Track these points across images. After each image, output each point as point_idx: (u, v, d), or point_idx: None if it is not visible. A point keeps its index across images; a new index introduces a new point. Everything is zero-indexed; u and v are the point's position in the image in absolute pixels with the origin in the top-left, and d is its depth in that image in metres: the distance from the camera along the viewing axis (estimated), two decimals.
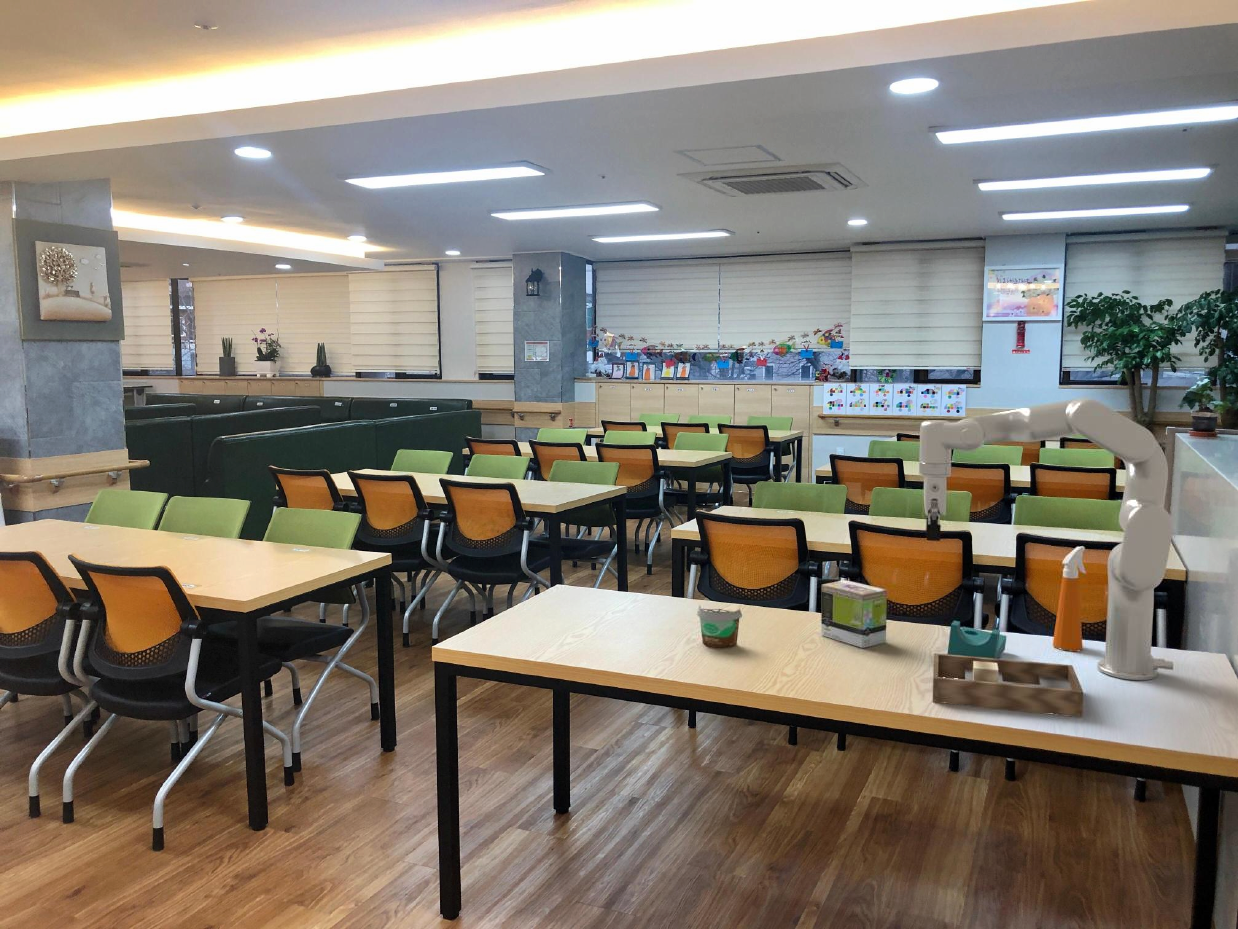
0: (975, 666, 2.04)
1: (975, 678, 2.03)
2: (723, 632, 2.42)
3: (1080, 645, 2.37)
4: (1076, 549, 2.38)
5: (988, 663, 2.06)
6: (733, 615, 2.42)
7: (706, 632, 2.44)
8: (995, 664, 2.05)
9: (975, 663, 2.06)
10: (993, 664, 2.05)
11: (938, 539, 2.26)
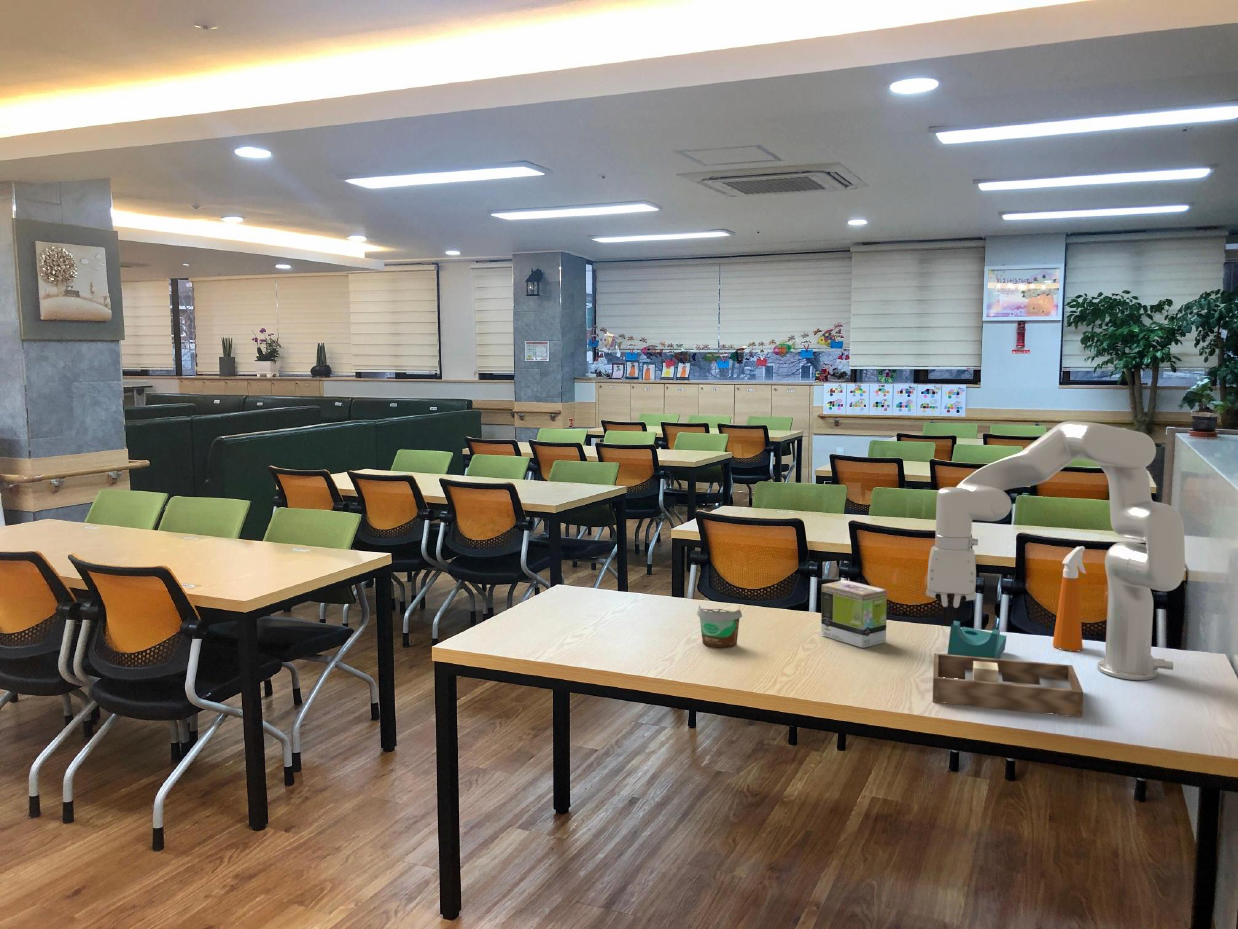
0: (975, 666, 2.04)
1: (975, 678, 2.03)
2: (723, 632, 2.42)
3: (1080, 645, 2.37)
4: (1076, 549, 2.38)
5: (988, 663, 2.06)
6: (733, 615, 2.42)
7: (706, 632, 2.44)
8: (995, 664, 2.05)
9: (975, 663, 2.06)
10: (993, 664, 2.05)
11: None
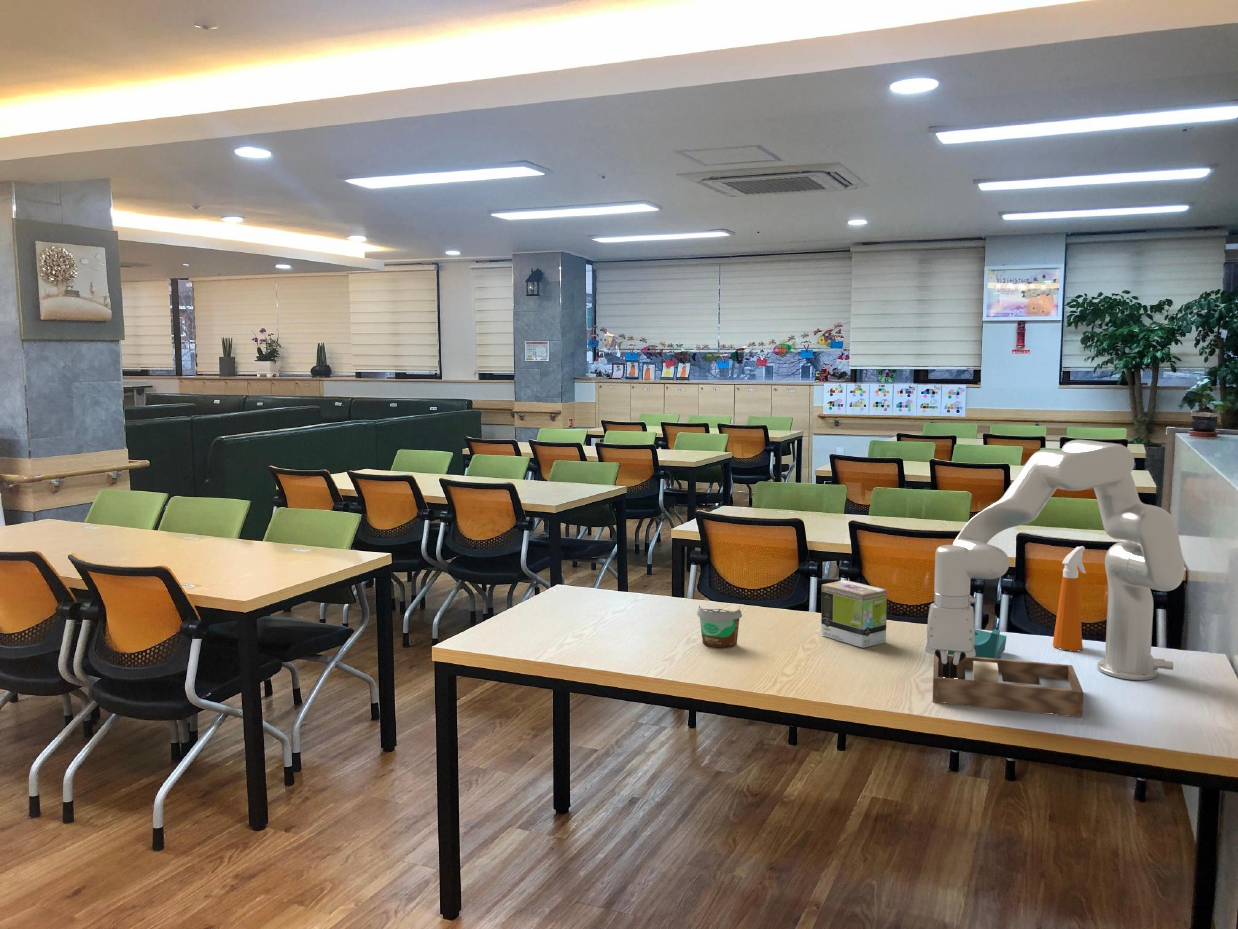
0: (975, 666, 2.04)
1: (975, 678, 2.03)
2: (723, 632, 2.42)
3: (1080, 645, 2.37)
4: (1076, 549, 2.38)
5: (988, 663, 2.06)
6: (733, 615, 2.42)
7: (706, 632, 2.44)
8: (995, 664, 2.05)
9: (975, 663, 2.06)
10: (993, 664, 2.05)
11: None
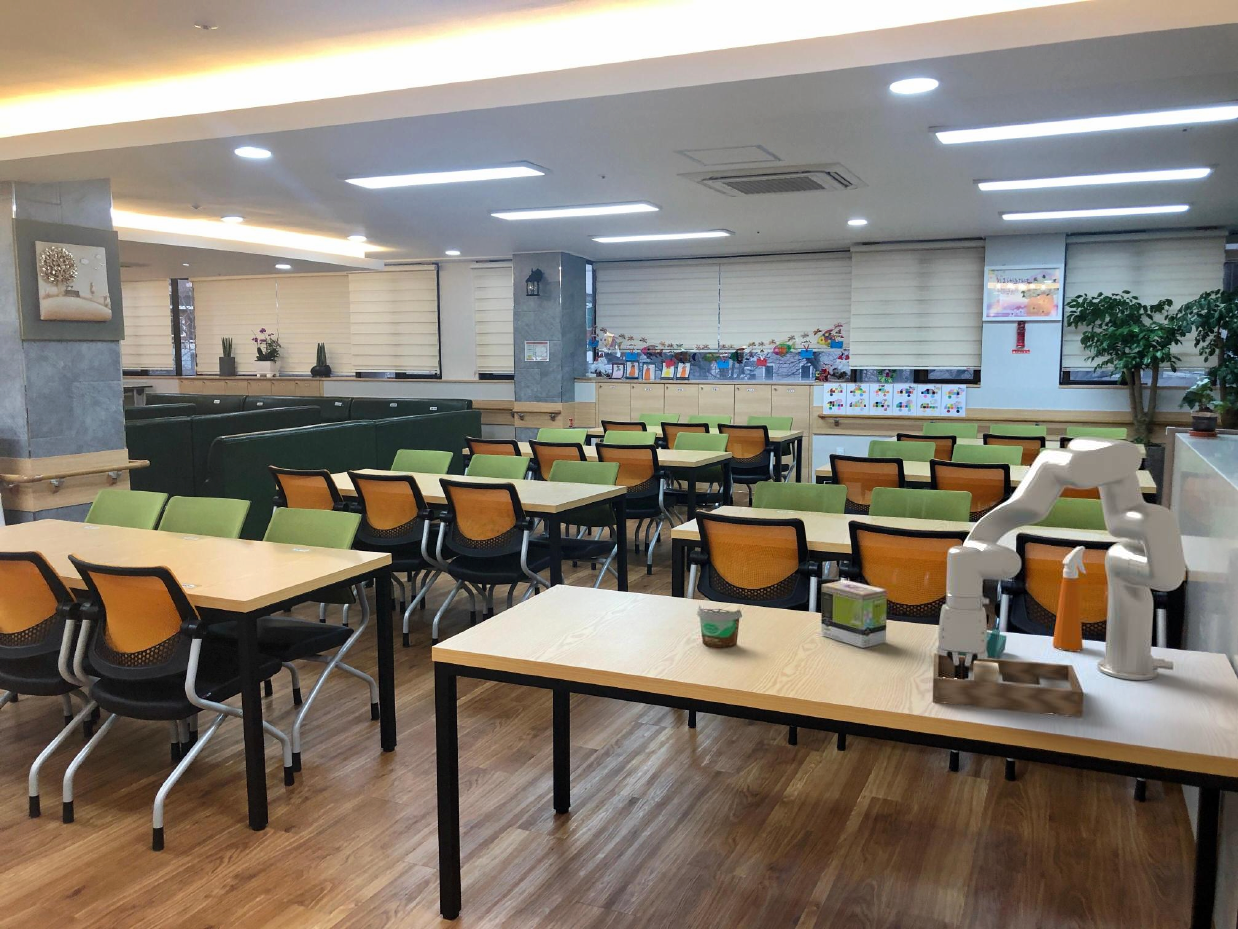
0: (976, 666, 2.04)
1: (976, 678, 2.03)
2: (723, 632, 2.42)
3: (1080, 645, 2.37)
4: (1076, 549, 2.38)
5: (989, 663, 2.06)
6: (733, 615, 2.42)
7: (706, 632, 2.44)
8: (996, 664, 2.05)
9: (976, 663, 2.06)
10: (994, 664, 2.05)
11: None
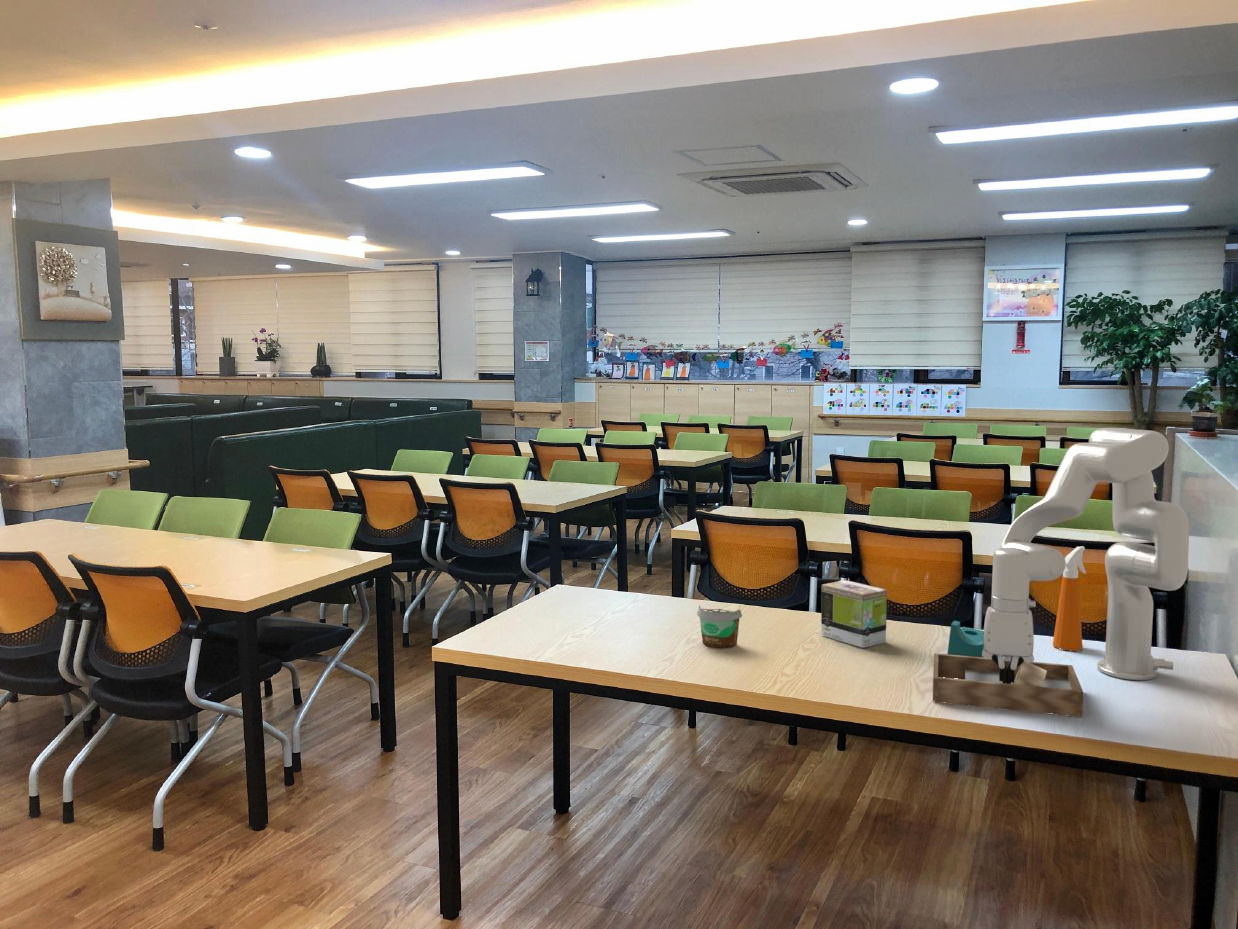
0: (1023, 666, 2.00)
1: (1019, 677, 2.00)
2: (723, 632, 2.42)
3: (1080, 645, 2.37)
4: (1076, 549, 2.38)
5: (1037, 668, 2.01)
6: (733, 615, 2.42)
7: (706, 632, 2.44)
8: (1044, 671, 2.01)
9: (1024, 663, 2.02)
10: (1042, 670, 2.01)
11: None
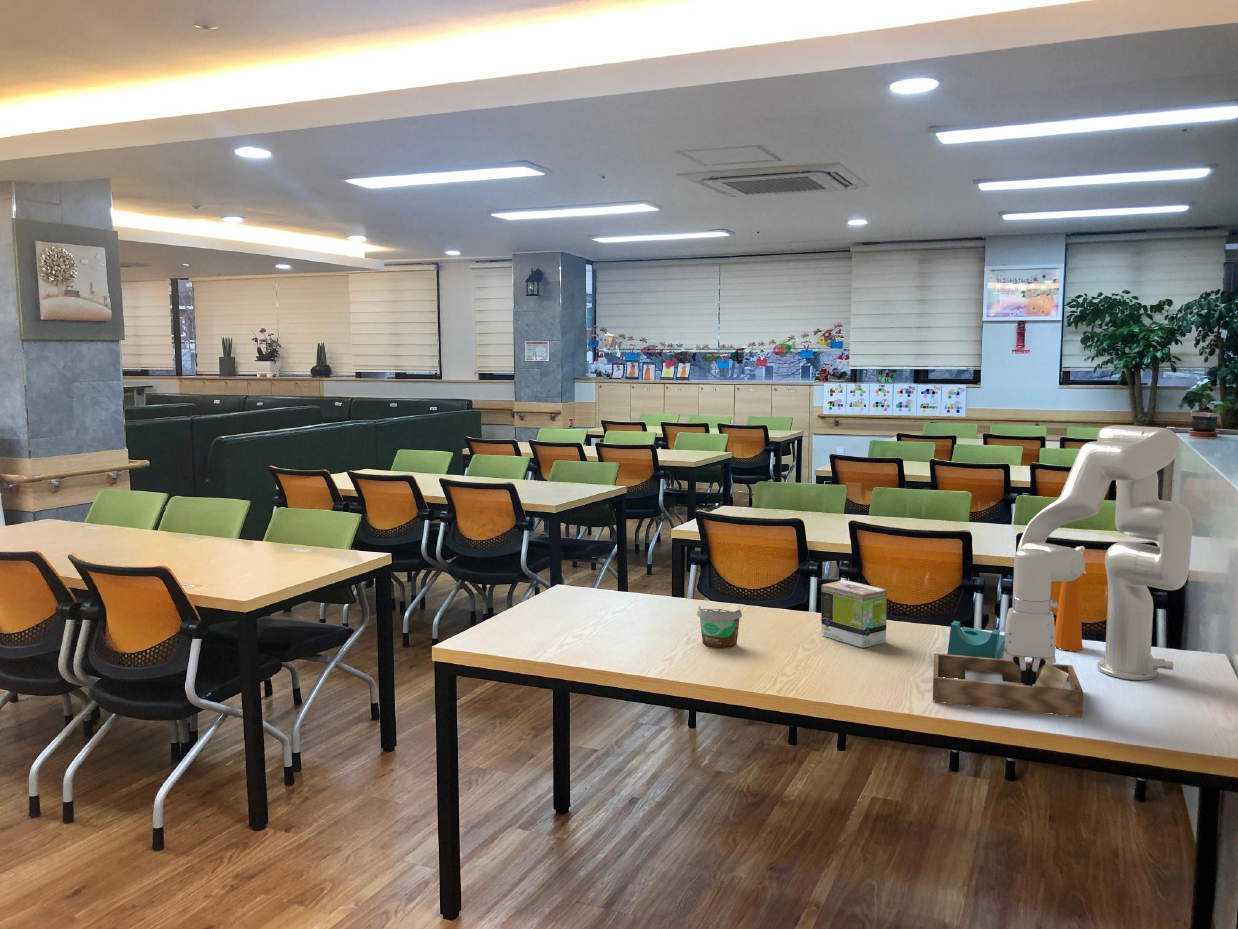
0: (1044, 668, 1.98)
1: (1039, 679, 1.98)
2: (723, 632, 2.42)
3: (1080, 645, 2.37)
4: (1076, 549, 2.38)
5: (1059, 671, 1.99)
6: (733, 615, 2.42)
7: (706, 632, 2.44)
8: (1066, 674, 1.99)
9: (1046, 666, 2.00)
10: (1064, 673, 1.99)
11: None
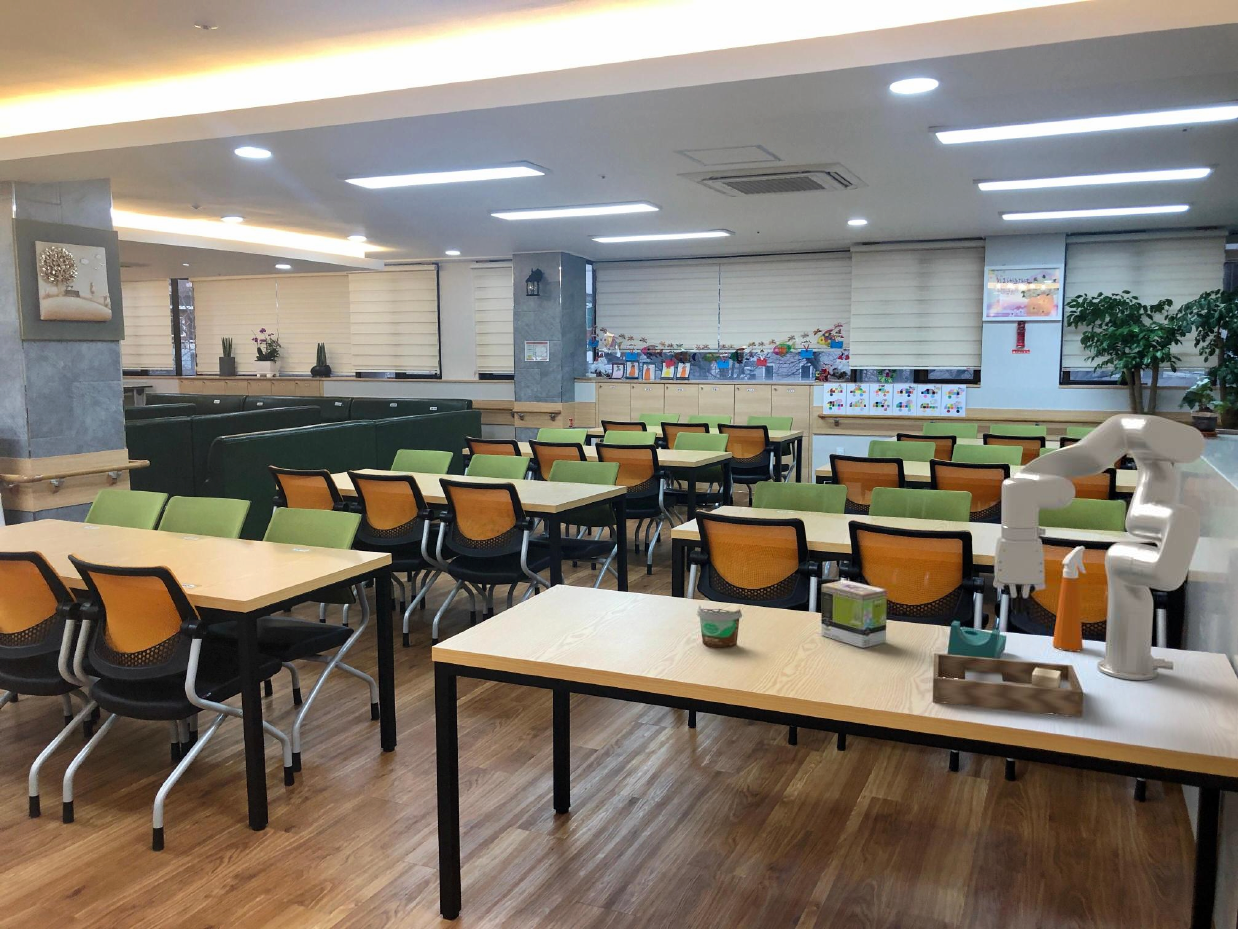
0: (1034, 672, 1.99)
1: (1033, 684, 1.99)
2: (723, 632, 2.42)
3: (1080, 645, 2.37)
4: (1076, 549, 2.38)
5: (1050, 671, 2.00)
6: (733, 615, 2.42)
7: (706, 632, 2.44)
8: (1058, 672, 1.99)
9: (1036, 670, 2.01)
10: (1055, 672, 2.00)
11: None
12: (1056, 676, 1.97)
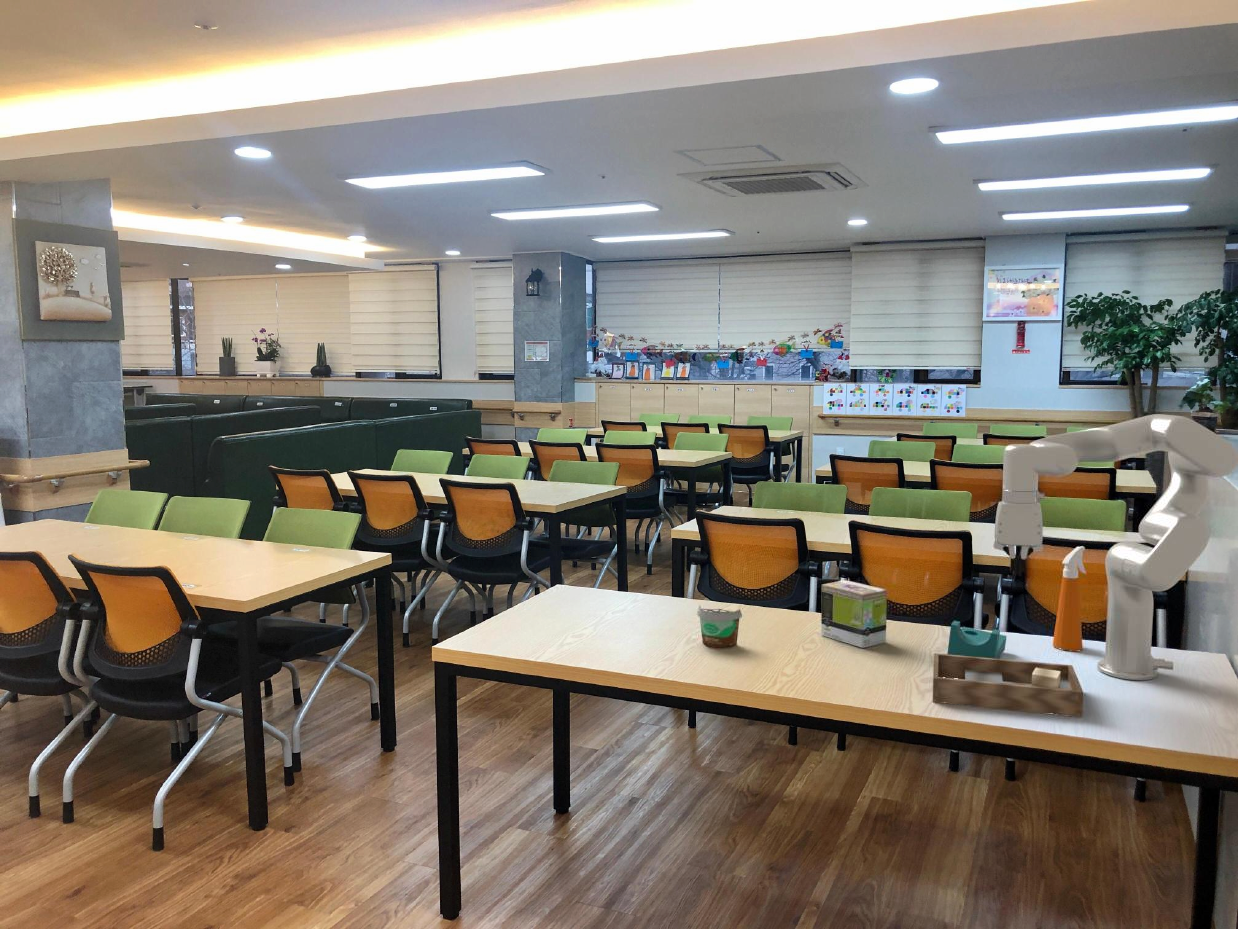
0: (1034, 672, 1.99)
1: (1033, 684, 1.99)
2: (723, 632, 2.42)
3: (1080, 645, 2.37)
4: (1076, 549, 2.38)
5: (1050, 671, 2.00)
6: (733, 615, 2.42)
7: (706, 632, 2.44)
8: (1058, 672, 1.99)
9: (1036, 670, 2.01)
10: (1055, 672, 2.00)
11: None
12: (1056, 676, 1.97)
